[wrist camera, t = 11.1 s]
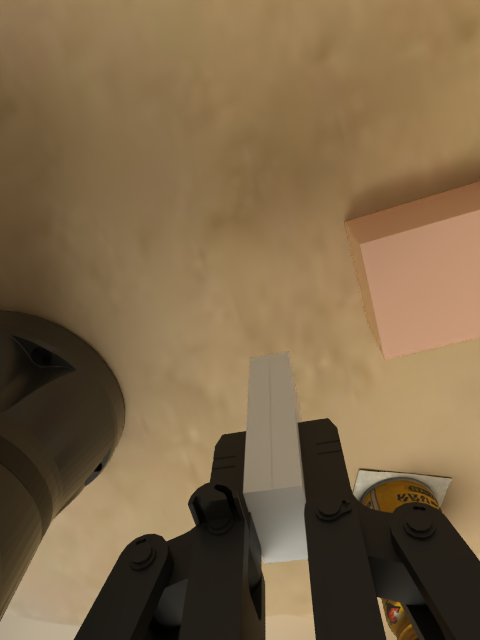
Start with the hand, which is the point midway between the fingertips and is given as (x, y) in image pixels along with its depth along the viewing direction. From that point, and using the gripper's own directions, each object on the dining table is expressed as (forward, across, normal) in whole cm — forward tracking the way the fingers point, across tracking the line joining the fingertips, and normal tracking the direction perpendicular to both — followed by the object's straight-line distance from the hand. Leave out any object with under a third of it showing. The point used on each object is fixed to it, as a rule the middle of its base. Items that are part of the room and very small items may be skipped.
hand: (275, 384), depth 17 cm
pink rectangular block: (+12, +12, 0) cm, 17 cm away
